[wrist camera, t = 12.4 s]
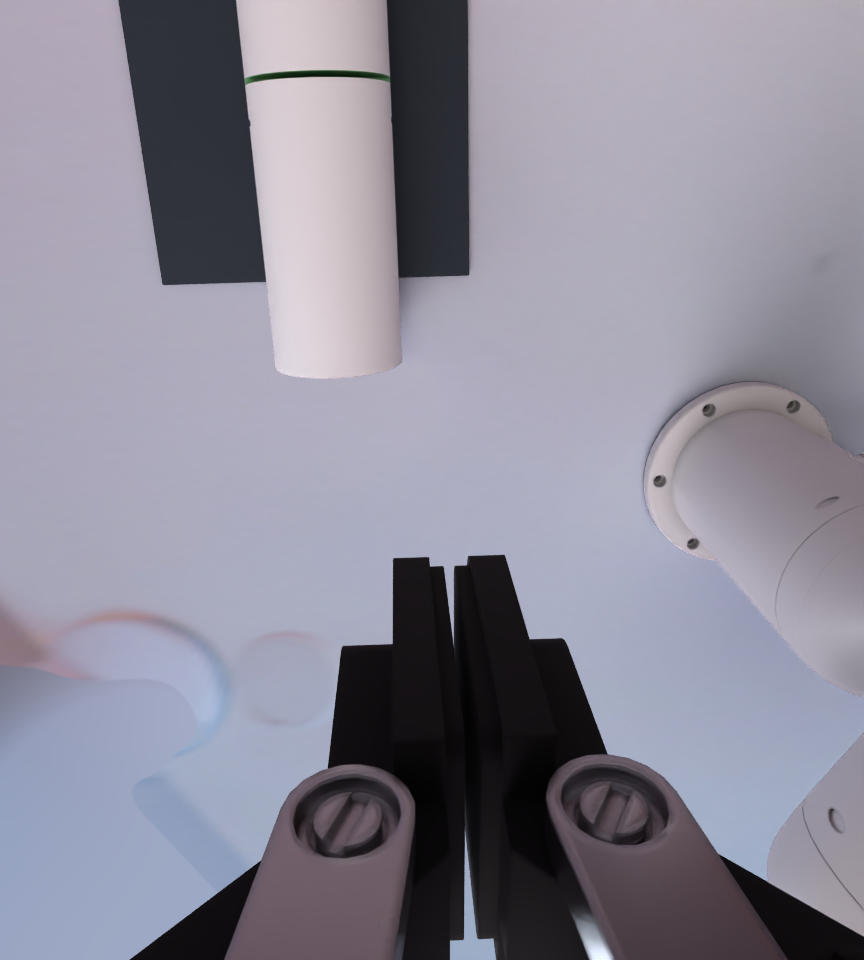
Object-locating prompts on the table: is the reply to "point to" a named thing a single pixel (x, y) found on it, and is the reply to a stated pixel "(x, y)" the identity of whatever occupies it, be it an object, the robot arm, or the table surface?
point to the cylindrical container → (324, 182)
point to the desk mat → (228, 150)
